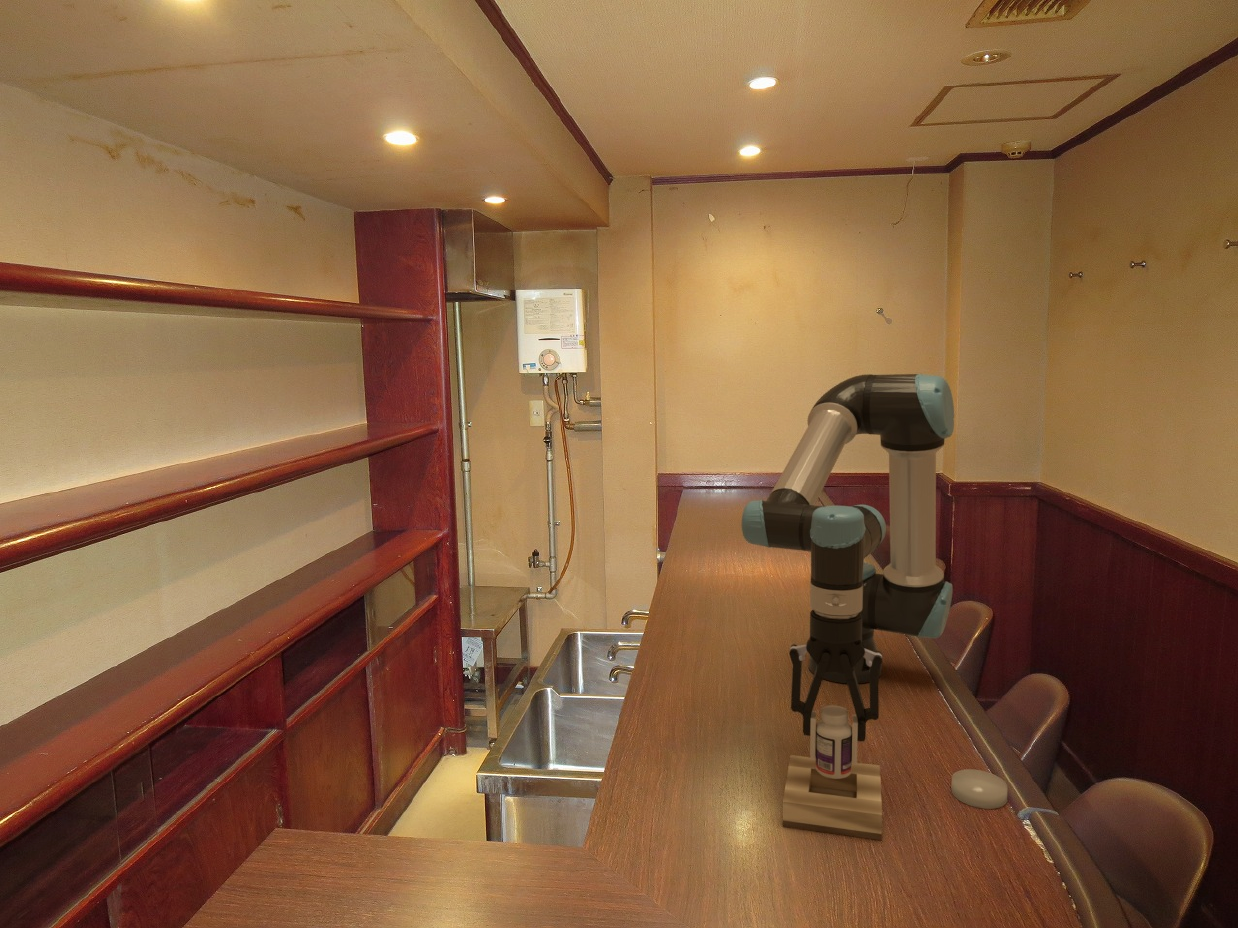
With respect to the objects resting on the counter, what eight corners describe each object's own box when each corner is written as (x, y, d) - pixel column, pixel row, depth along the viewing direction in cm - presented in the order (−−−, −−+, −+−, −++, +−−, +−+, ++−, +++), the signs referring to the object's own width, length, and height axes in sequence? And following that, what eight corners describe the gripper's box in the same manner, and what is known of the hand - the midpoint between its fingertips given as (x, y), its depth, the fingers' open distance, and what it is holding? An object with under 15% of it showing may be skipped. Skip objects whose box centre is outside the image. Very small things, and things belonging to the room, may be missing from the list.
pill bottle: (845, 760, 128) (846, 702, 126) (856, 779, 122) (857, 718, 121) (811, 762, 127) (812, 703, 126) (820, 780, 122) (821, 719, 121)
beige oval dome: (948, 777, 133) (949, 766, 133) (1002, 784, 131) (1002, 772, 131) (954, 804, 126) (954, 792, 125) (1011, 811, 123) (1011, 799, 123)
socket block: (790, 777, 135) (790, 754, 134) (879, 788, 131) (879, 765, 130) (782, 826, 121) (782, 801, 121) (881, 840, 117) (882, 814, 117)
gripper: (770, 614, 120) (770, 761, 124) (902, 624, 115) (898, 777, 119) (775, 599, 127) (774, 738, 131) (900, 607, 122) (896, 751, 126)
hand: (833, 756), depth 125 cm, fingers closed on pill bottle, 5 cm apart
